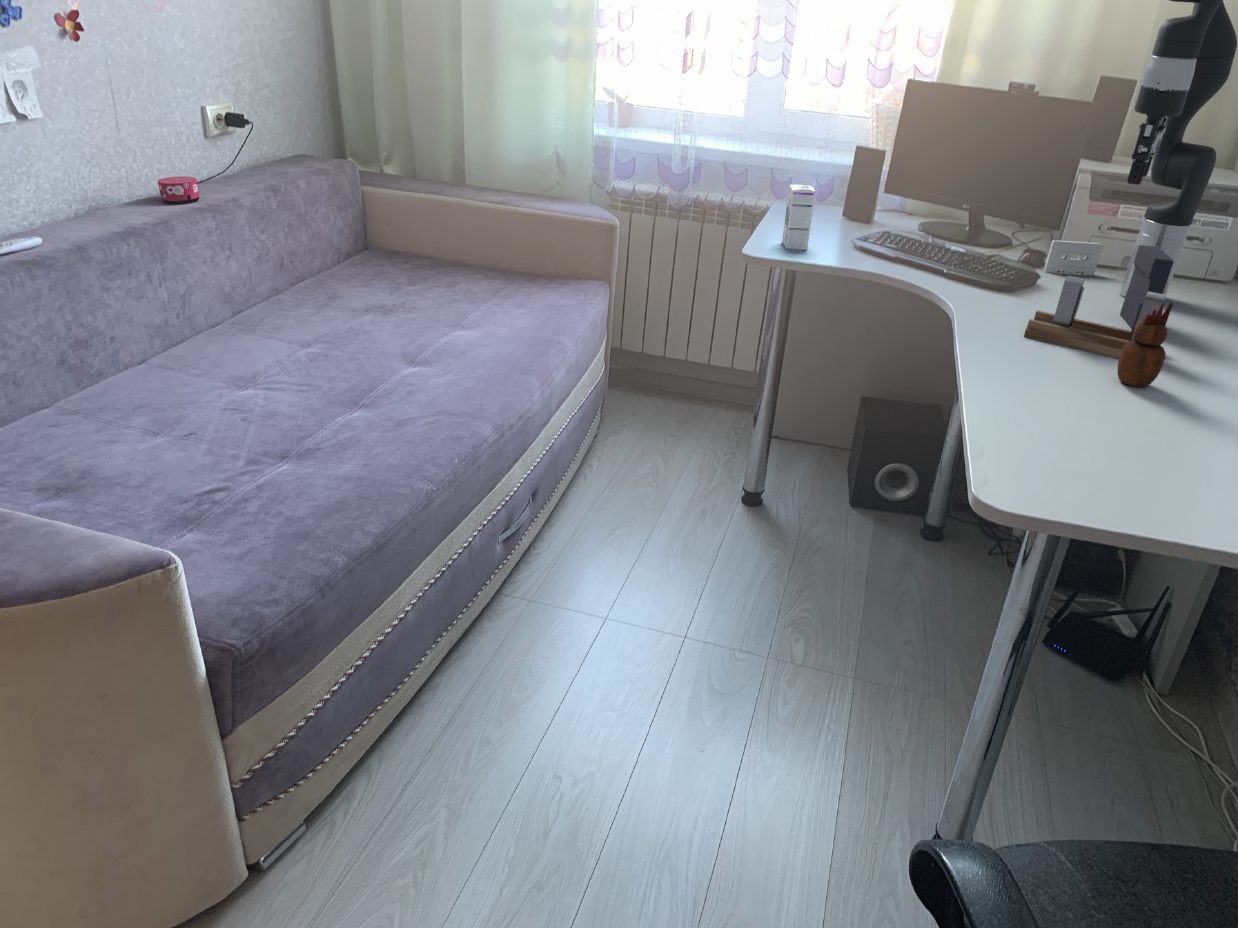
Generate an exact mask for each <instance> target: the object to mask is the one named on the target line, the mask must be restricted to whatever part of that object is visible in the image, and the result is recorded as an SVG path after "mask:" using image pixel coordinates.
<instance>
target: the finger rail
mask: <svg viewBox="0 0 1238 928" xmlns="http://www.w3.org/2000/svg"><path fill="white" fill-rule="evenodd" d="M1164 298H1165V299H1166V297H1165V295H1164V294H1159V293H1154V292H1149V291H1148V292H1147V294H1146V296H1145V299H1143V300H1142V302H1141V304H1140V307H1139V310H1138V313H1137V316H1136V319H1135V322H1134V325H1133V328H1131V330H1129V329H1124V328H1120V327H1115V326H1112V325H1111V326H1110V325H1106V324H1102V323H1097V322H1093V321H1087V320H1082V319H1079V318H1075V321H1074V323H1073V324H1072V326H1071V327H1070V328H1069V327H1064V326H1060V325H1055V324H1052V322H1053V319H1054V315H1055V313H1052V312H1046V311H1041V310H1036V311H1035V313H1034V317H1033V319H1031V318H1029V319H1028V322H1027V326H1026V328H1025V331H1024V334H1023V337H1024V338H1029V339H1032V340H1033V339H1034V340H1037V341H1041V342H1046V343H1050V344H1055V345H1059V346H1064V347H1068V348H1072V349H1077V350H1080V351H1086V352H1090V353H1094V354H1097V355H1102V356H1106V357H1111V358H1116V359H1119V356H1120V353H1121V350H1122V348H1123V347H1124V345H1125V344H1126V343H1128V342H1129V341H1133V340H1135V339H1134V336H1133V334H1134V330H1135V327H1136V326H1137V325H1138V324H1139V323H1141V322H1142V321H1144V319H1145V317H1146V316H1147V314H1150V316H1151V314H1152V312H1153V310H1156V314H1157V312H1158V310H1159V308H1160V306H1161V304H1163V305H1164V302H1165V300H1164ZM1163 301H1164V302H1163ZM1160 346H1162V344H1161V345H1160Z"/></svg>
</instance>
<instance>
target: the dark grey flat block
mask: <svg viewBox="0 0 1238 928" xmlns="http://www.w3.org/2000/svg"><path fill="white" fill-rule="evenodd" d="M1134 265H1135V269H1134V272H1133V275H1132V278H1131V281H1130V285H1129V288H1128V291H1127V294H1126V297H1124V300H1123V304H1122V306H1121V309H1120V312H1119V315H1120V317H1121V318H1122V319H1123V320H1124V321H1125V323H1126V324H1127V325H1128V327H1130V328H1131V329H1132V328H1133V325H1134V322H1135V319H1136V316H1137V313H1138V310H1139V307H1140V304H1141V302H1142V300H1143V299H1145V296H1146V294H1147V292H1148V291H1149V292H1154V293H1159V294H1165V291H1166V289H1167V286H1168V282H1167V281H1168V280H1169V277H1170V274H1171V271H1172V268H1173V265H1174V262H1173V260H1172V259H1171V258H1170V257H1169V256H1168V255H1166V254H1165V253H1164V252H1163V251H1162V250H1161V249H1159V248H1158V247H1154V246H1144V245H1139V247H1138V250H1137V253H1136V256H1135V260H1134Z"/></svg>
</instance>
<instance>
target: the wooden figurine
mask: <svg viewBox="0 0 1238 928" xmlns="http://www.w3.org/2000/svg"><path fill="white" fill-rule="evenodd" d="M1173 305H1174V302H1173V301H1170V303H1169V304H1168V305H1167V307H1166V309H1165V310H1164V303H1163V304H1161V306H1160V308H1159V310H1158V312H1157V314H1156V310H1153V312H1152V314H1151V316H1150V314H1147V316H1146V317H1145V319H1144V321H1142V322H1141V323H1139V324H1138V325H1137V326H1136V327H1135V330H1134V334H1133V336H1134V339H1135V340H1133V341H1129V342H1128V343H1126V344H1125V345H1124V347H1123V348H1122V350H1121V353H1120V356H1119V358H1118V361H1117V370H1116V371H1117V377H1118V380H1120V382H1121V383H1123V384H1125V385H1128V386H1130V385H1131V387H1134V386H1135V388H1139V387H1140V388H1144V387H1148V386H1150V385H1151V384H1152V383H1154V381H1155V380H1156V379H1157V378H1158V376H1159V374H1160V373H1161V371H1162V368H1163V366H1164V363H1165V359H1166V351H1165V348H1164V347H1163V346H1162V344H1163V343H1164V342H1165V340H1166V339H1167V337H1168V333H1169V332H1168V328H1167V326H1166V325H1167V322H1168V320H1169V317H1170V313H1171V310H1172V308H1173ZM1163 311H1164V312H1163ZM1160 345H1161V346H1160Z"/></svg>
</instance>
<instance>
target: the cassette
mask: <svg viewBox="0 0 1238 928" xmlns="http://www.w3.org/2000/svg"><path fill="white" fill-rule="evenodd" d="M1103 247H1104V244H1103V243H1102V242H1101V243H1100V242H1088V241H1087V242H1085V241H1072V240H1071V241H1070V240H1057V239H1056V240H1054V239H1053V240H1051V243H1050V247H1049V251H1048V255H1047V258H1046V262H1045V266H1044V269H1043V272H1045V273H1049V274H1058V275H1059V274H1060V275H1075V276H1076V275H1077V276H1094V275H1095V274H1096V271H1097V267H1098V264H1099V261H1100V257H1101V254H1102V250H1103V249H1104V248H1103ZM1070 255H1078V257H1077V258H1070Z"/></svg>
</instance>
